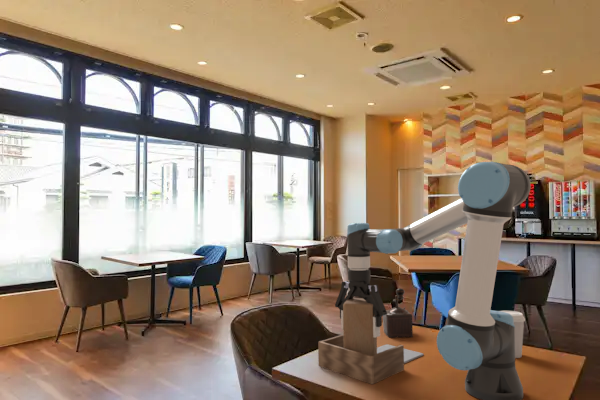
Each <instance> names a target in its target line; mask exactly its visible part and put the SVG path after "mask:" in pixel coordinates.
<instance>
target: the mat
mask: <svg viewBox="0 0 600 400" xmlns="http://www.w3.org/2000/svg"><path fill="white" fill-rule="evenodd" d="M396 346H397V345H396ZM396 346H395V345H391V344H387V343H386V344H383V345H381V346H377V354H378V353H380V352H383V351H385V350H388V349H391V348H393V347H396ZM422 356H424V353H422V352H419V351H414V350H412V349H407V348H404V365H405V364H406V363H409V362H411V361H413V360H416V359H418V358H420V357H422Z"/></svg>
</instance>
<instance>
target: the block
mask: <svg viewBox="0 0 600 400" xmlns="http://www.w3.org/2000/svg"><path fill="white" fill-rule="evenodd" d="M374 316H375V315H374V313H373V304H371V303H367V302H366V300H364V299H363V297H362V298H361V297H353V299H348V300H346V301H345V303H344V304H343V330H342V331H343V334H344V348H345V349H349V350H352V351H356V352H359V353H363V354H366V355H369V356H372V355H375V354H377V348H378V337H376V338H375V337H373V317H374ZM343 334H342V335H343Z"/></svg>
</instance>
